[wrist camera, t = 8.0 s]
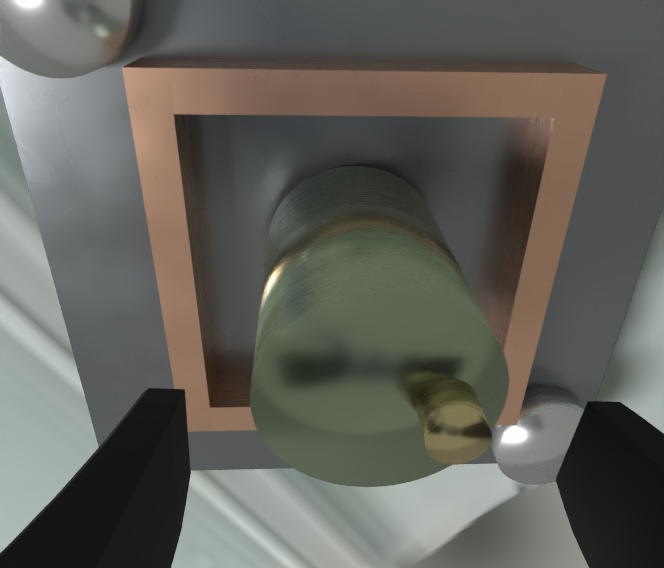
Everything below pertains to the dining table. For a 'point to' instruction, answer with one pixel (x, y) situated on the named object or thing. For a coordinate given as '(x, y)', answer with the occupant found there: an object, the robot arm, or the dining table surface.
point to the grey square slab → (327, 153)
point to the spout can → (370, 337)
